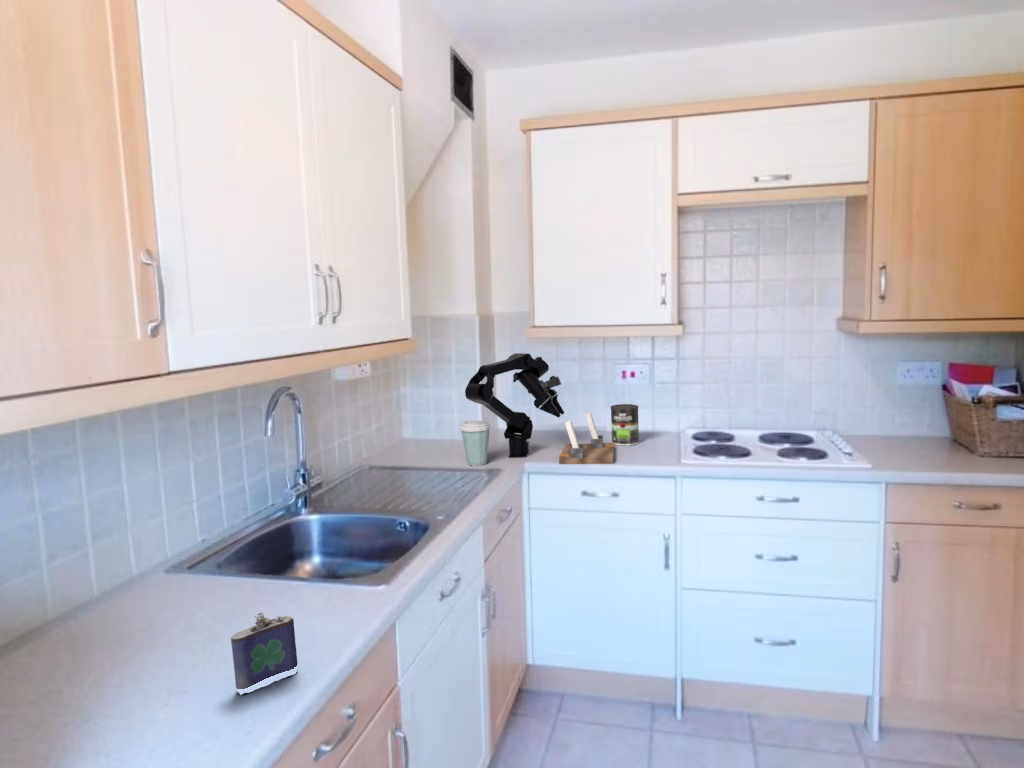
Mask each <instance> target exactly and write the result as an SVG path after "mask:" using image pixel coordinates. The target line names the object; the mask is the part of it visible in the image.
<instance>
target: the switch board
mask: <svg viewBox="0 0 1024 768" xmlns="http://www.w3.org/2000/svg"><path fill="white" fill-rule="evenodd" d="M598 436H599V438H600V439H593V438H592V437H591V439H590V443H589V442H588V443H579V446H580V448H573V447H572V444H571V443H565V444H564V446H563V448H562V450H561V453H560V455H559V458H558V463H559V464H558V465H583V464H584V465H600V464H603V465H604V464H605V465H606V464H610V465H611V464H612V465H613V464H614V457H615V445H614V443H612V442H608V443H607V442H604V435H603V434H601V435H600V434H598Z"/></svg>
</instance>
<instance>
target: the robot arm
mask: <svg viewBox="0 0 1024 768" xmlns="http://www.w3.org/2000/svg"><path fill="white" fill-rule="evenodd" d="M549 369H550V367H549V364H548V363H547V362H546V361H545V360H543V358H542V356H536V357H535V358H533V357H532V355H531V354H530V353H524V352H523V353H513V354H511V355H509V356H508V358H506V359H503V360H501V361H500V360H499V361H496V362H493V363H488V364H483V365H481V366H480V367H479V368H478V371H477V372H476V373H475V374H474V375H473V376H472V377H471V378H470V379H469V381H468V384H467V385H466V387H465V389H464V393H465V394H464V395H465V397H466V399H467V400H468V401H470V402H473V403H476V404H479V405H482V406H483V407H485V408H487V410H489V411H490V412H492V413H493V414H495V416H497V417H498V418H500V419H501V420H502V421H503V422H505V423H506V425H505V426H506V429H505V431H504V432H503V435H504V436H503V437H504V439H505V440H507V439H508V449H509V451H508V452H509V455H508V458H526V457H528V455H529V454H530V442H529V441H528V440H530V439H531V438H532V434H533V429H534V426H533V421H532V420H531V416H528V414H526V413H525V412H521V411H513V410H512V409H511V408H509V406H507V405H505V404H504V403H503V402H502V401H501V400H499V399H498V398H497V397H496V396H494V390H493V389H494V387H495V380H494V379H495V377H496V376H498V375H501V374H504V373H508V372H511V371H515V370H519V372H514V374H513V376H512V377H513V380H512V383H516V382H517V381H518V382H519V383H520V384H521V385H522V386H523V387H524V388H525V389H526V390H527V393H528V394H529V395H531V396H532V397H533V398H534V400H533V406H534V408H535V407H536V409H539V410H540V411H543V412H546V413H547V414H550V415H552V416H554V417H556V418H560V417H561V416H562V415H564V414H565V411H564V409H563V407H562V406H561V404H560V403H559V399H558V397H559V394H558V391H556V389H555V387H558V386H560V385H562V382H561V380H560V377H559V376H556V375H552V376H549V379H548V380H546V381H544V380H543V379H541V380H540V378H542V377H543V376H544V375H545V374H546V373H548V371H549ZM520 370H521V371H520ZM485 378H486V381H485V383H481V382H482V381H483V380H484V379H485Z"/></svg>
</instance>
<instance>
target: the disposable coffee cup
mask: <svg viewBox="0 0 1024 768" xmlns="http://www.w3.org/2000/svg"><path fill="white" fill-rule="evenodd" d="M459 428H460V429H459V430H460V431H461V435H462V442H463V445H464V452H465V456H466V461H467V464H468V465H469V466H470V465H472V466H471V467H478V466H477V465H481V466H484V465H483V464H485V465H486V464H487V462H488V452H489V442H490V440H489V439H490V430H491V424H490V423H489V422H488V421H484V420H464V421H461V424H460V427H459Z"/></svg>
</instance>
